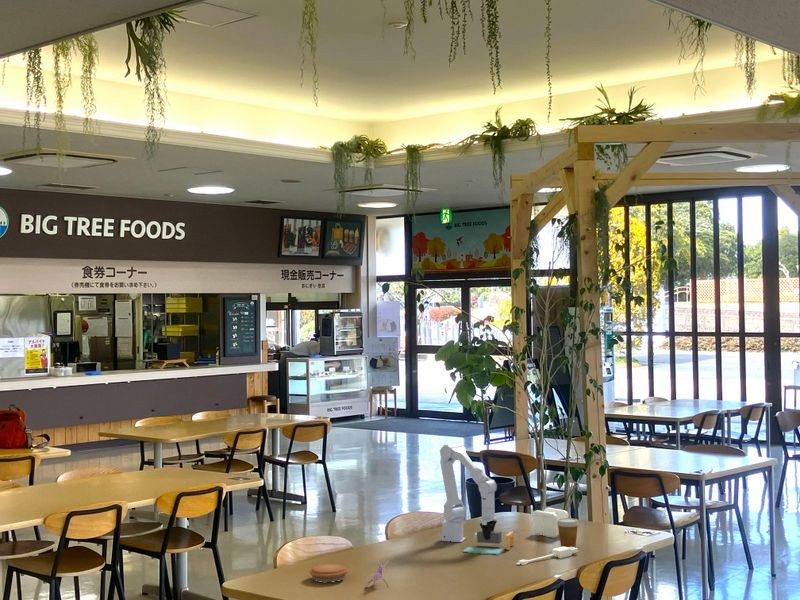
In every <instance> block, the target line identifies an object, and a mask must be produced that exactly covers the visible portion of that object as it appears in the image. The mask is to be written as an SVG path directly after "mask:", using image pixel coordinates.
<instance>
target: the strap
mask: <svg viewBox="0 0 800 600" xmlns="http://www.w3.org/2000/svg"><path fill="white" fill-rule="evenodd" d="M514 533H515V531H509V532H508V533H506V534H505V550H511V546H512V547H514V545H515V538H514V537H515V535H514Z"/></svg>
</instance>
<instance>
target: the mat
mask: <svg viewBox="0 0 800 600" xmlns="http://www.w3.org/2000/svg"><path fill="white" fill-rule="evenodd" d="M463 552H468V553H467V554H477V553H481V554H480V555H492V554H496V555H495V556H499V555H500V554H501V553H502V552H504V549H502V548H488V547H472V546H471V547H470V546H468V547H466V548H465V549H463V550H462V553H463Z"/></svg>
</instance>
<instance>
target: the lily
mask: <svg viewBox="0 0 800 600" xmlns="http://www.w3.org/2000/svg"><path fill="white" fill-rule="evenodd" d="M389 562H390V561H389V560H388V561H387V562H385V563H384V565H383V562H380V563H379V564H378V566H377V567H376V570H375V571H374V572H373V573H374V574H373V575H372V576H371V577H370V579H369V580H368V582H367V583H366V585H365V586H364V588H366V587H367V586H369V584H370V583H372V582H373V584H375V583H376V582H377V581H378V580H383V581H384V583H385V584H386V586H387V588H389V587H390V586H389V584H388V583H387V581H386V580H385V578H384V577H383V572H384V570H386V569H385V568H386V566H387V564H388V563H389Z"/></svg>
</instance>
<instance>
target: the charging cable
mask: <svg viewBox="0 0 800 600" xmlns="http://www.w3.org/2000/svg"><path fill="white" fill-rule="evenodd" d="M576 553H579V548H578V547H576V548H575V547H565V546H563V547H561V546H559V547H556V548H552V549H551V554H548V555H544V556H540V557H535V558H531V559H519V560H518V562H516V565H518V566H519V565H520V564H521V565H520V566H524V565H528V564H529V563H531V562H533V561H538V560H541V559H545V558H546V559H547V558H549V557H550V558H551V557H553V556H555V557H554V558H557V557H558V558H557V559H564V558H568V557H571V556H572V555H573V554H576ZM567 556H568V557H567ZM563 557H564V558H563Z"/></svg>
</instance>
